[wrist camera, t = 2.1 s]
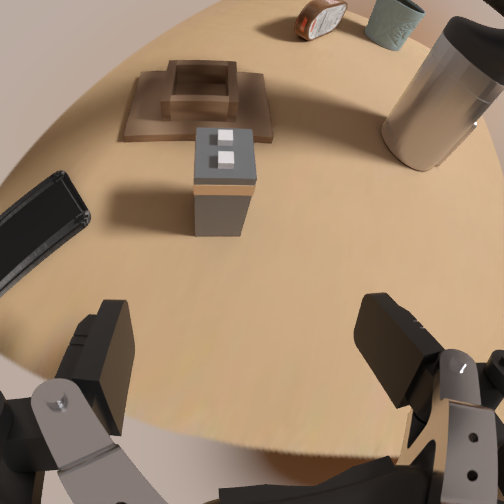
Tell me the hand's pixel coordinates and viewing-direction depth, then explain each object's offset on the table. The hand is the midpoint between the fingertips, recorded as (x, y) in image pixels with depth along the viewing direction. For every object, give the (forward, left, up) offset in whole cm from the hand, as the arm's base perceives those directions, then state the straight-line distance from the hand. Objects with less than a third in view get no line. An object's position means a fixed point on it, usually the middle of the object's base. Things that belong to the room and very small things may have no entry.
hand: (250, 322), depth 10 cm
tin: (-18, -51, -16) cm, 57 cm away
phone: (+20, -10, -16) cm, 28 cm away
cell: (0, -12, -15) cm, 20 cm away
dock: (+2, -27, -15) cm, 31 cm away
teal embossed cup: (-35, -57, -16) cm, 69 cm away
